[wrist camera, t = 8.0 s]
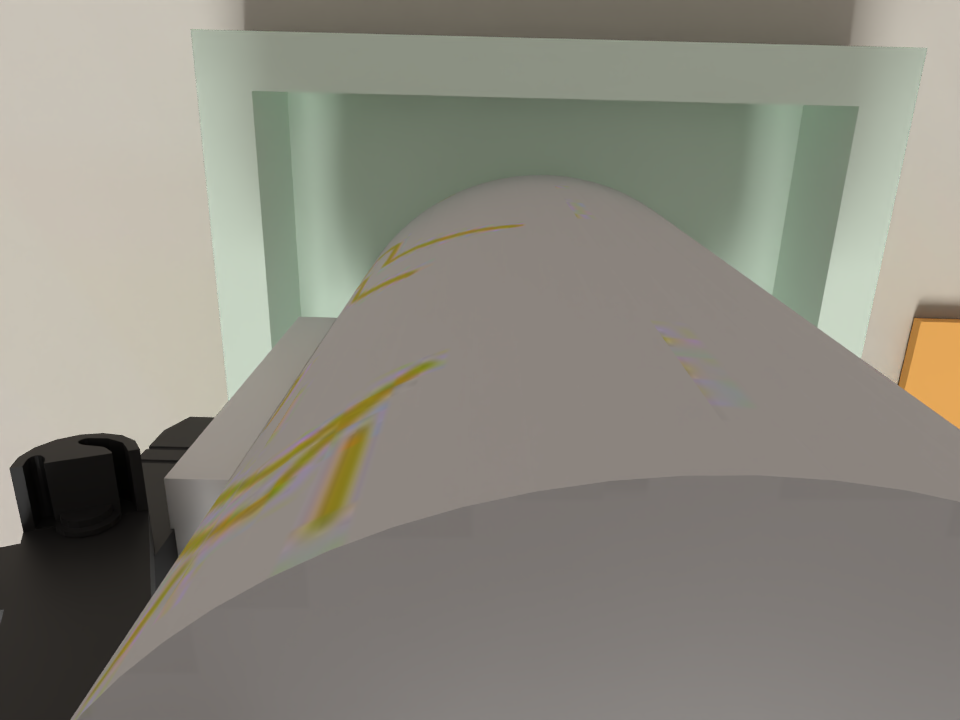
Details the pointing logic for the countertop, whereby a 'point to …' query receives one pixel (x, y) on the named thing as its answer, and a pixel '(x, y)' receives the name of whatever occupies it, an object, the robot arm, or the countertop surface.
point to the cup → (566, 500)
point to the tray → (543, 156)
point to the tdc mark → (934, 366)
